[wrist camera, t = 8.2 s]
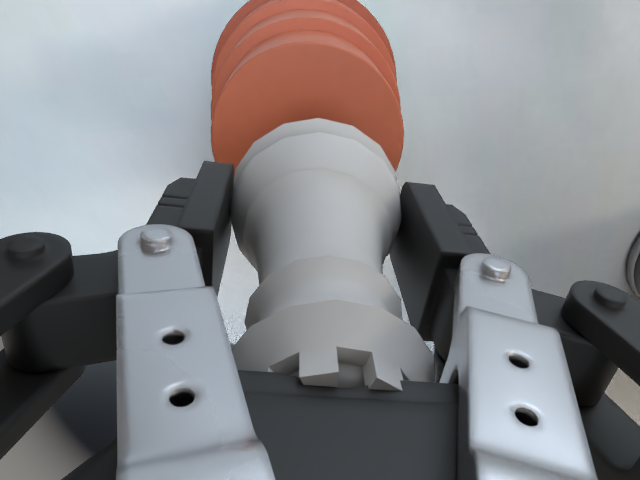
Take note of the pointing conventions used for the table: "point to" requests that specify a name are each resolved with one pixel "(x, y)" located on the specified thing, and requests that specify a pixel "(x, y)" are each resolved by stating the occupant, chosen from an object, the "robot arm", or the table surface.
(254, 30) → the cup stack
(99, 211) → the table surface
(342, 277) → the rook chess piece
